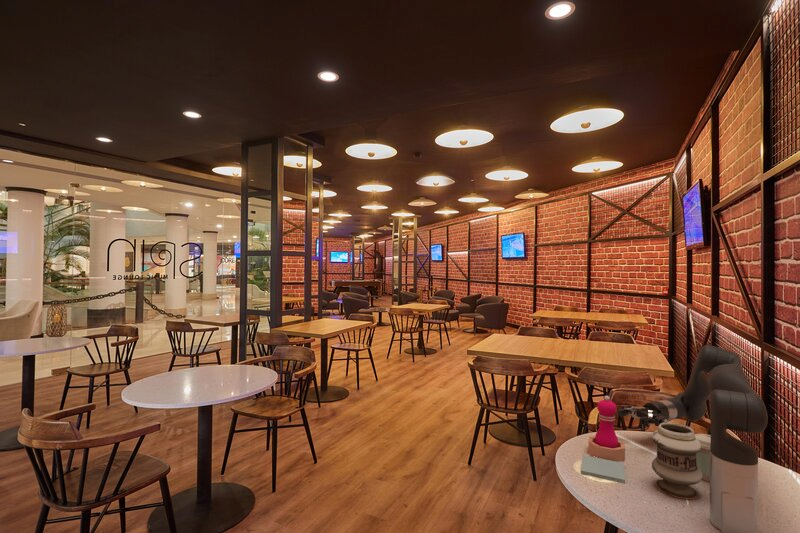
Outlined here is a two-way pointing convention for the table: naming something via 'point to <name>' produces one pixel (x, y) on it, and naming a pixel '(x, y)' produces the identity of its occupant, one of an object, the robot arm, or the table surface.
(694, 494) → the apothecary jar
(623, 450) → the holder ring
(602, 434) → the pepper mill
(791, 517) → the table surface
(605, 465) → the board
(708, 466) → the coffee cup
